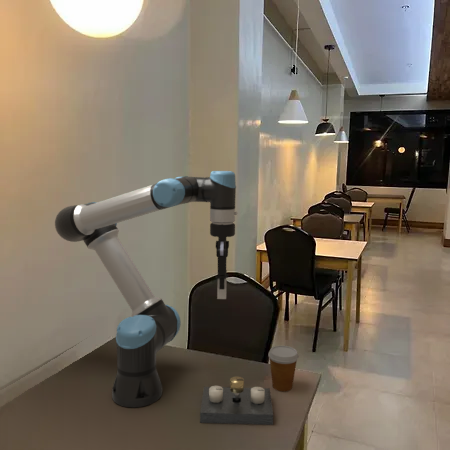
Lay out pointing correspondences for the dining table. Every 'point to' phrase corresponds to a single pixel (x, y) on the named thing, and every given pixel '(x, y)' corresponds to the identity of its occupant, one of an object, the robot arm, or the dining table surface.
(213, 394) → the knob
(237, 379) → the brass pot knob
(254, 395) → the knob
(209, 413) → the mount panel
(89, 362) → the dining table surface
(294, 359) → the disposable coffee cup
